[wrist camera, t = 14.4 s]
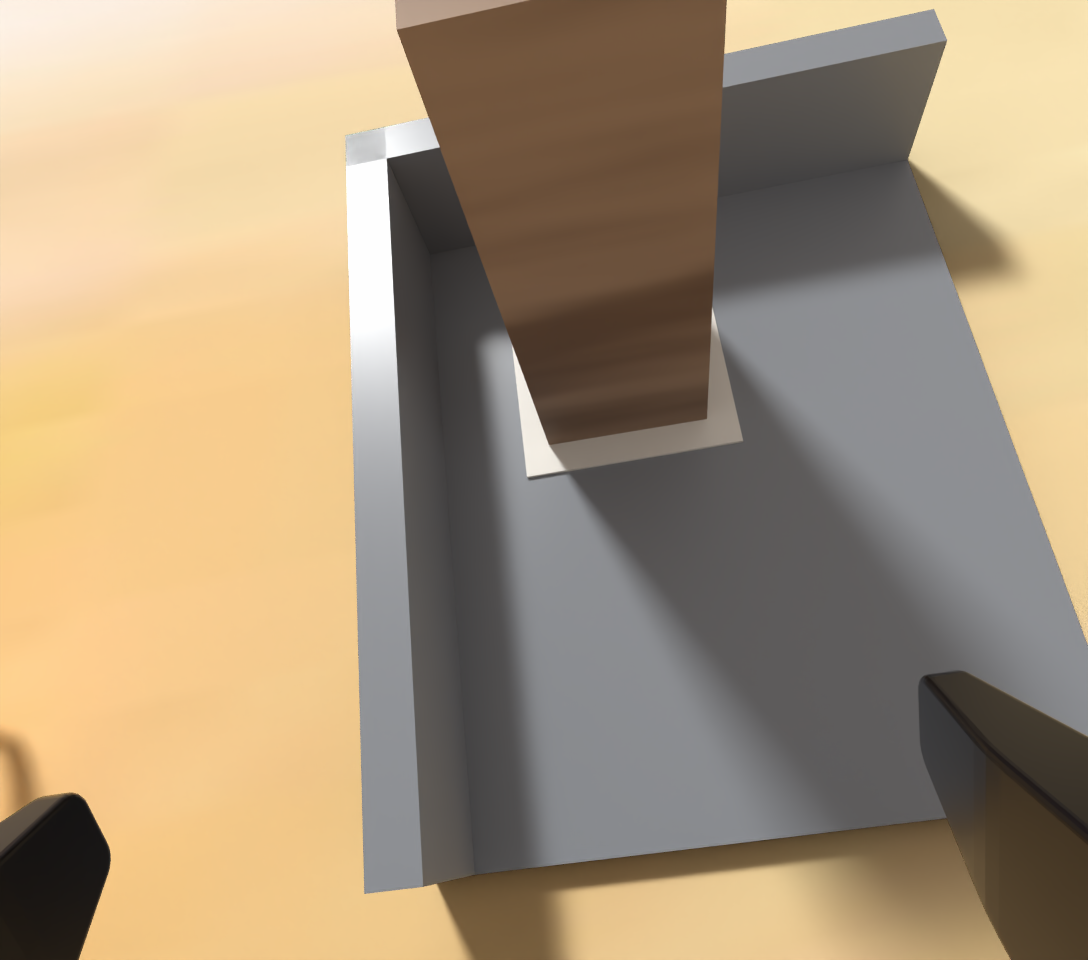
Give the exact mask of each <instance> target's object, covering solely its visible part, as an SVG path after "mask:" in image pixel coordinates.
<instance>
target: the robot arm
mask: <svg viewBox="0 0 1088 960" xmlns="http://www.w3.org/2000/svg"><path fill="white" fill-rule="evenodd" d="M918 705H919V735H920V747H921V752H922V756H923V760H924V763H925V766H926V768H927V771H928V773H929V776H930V778H931V781H932V783H933V786H934V788H935V791H936V793H937V795H938V798H939V800H940V803H941V805H942V808H943V810H944V813H945V815H946V817H947V820H948V822H949V825H950V827H951V830H952V832H953V835H954V837H955V839H956V842H957V844H958V847H959V849H960V852H961V854H962V857H963V859H964V861H965V864H966V866H967V869H968V871H969V874H970V876H971V879H972V881H973V884H974V886H975V888H976V891H977V893H978V895H979V898H980V900H981V902H982V905H983V907H984V909H985V911H986V913H987V915H988V917H989V919H990V921H991V923H992V925H993V927H994V929H995V931H996V933H997V935H998V937H999V939H1000V941H1001V943H1002V944H1003V946H1004V948H1005V950H1006V952H1007V954H1008V955H1009V957H1010V959H1011V960H1088V736H1087V735H1085V734H1083V733H1081V732H1079V731H1077V730H1075V729H1073V728H1072V727H1070V726H1068V725H1066V724H1064V723H1062V722H1060V721H1058V720H1057V719H1055V718H1053V717H1051V716H1049V715H1047V714H1045V713H1043V712H1042V711H1040V710H1038V709H1036V708H1034V707H1032V706H1030V705H1029V704H1027V703H1025V702H1023V701H1021V700H1019V699H1017V698H1015V697H1014V696H1012V695H1010V694H1008V693H1006V692H1004V691H1002V690H1000V689H999V688H997V687H995V686H993V685H991V684H989V683H987V682H985V681H984V680H982V679H980V678H978V677H976V676H974V675H972V674H970V673H968V672H966V671H962V670H954V671H947V672H940V673H933V674H926V675H924V676H923V677H922V678H921V679H920V681H919V685H918ZM110 862H111V857H110V849H109V846H108V843H107V841H106V839H105V837H104V835H103V833H102V832H101V830H100V828H99V826H98V824H97V822H96V820H95V818H94V816H93V814H92V812H91V810H90V808H89V806H88V804H87V802H86V801H85V799H84V798H83V797H81V796H80V795H79V794H76V793H64V794H57V795H49V796H44V797H40V798H37V799H35V800H34V801H32V802H30V803H29V804H27V805H26V806H24V807H23V808H21V809H20V810H18V811H17V812H15V813H14V814H12V815H11V816H9V817H8V818H6V819H5V820H3V821H2V822H0V960H79V957H80V954H81V951H82V948H83V945H84V942H85V939H86V937H87V934H88V931H89V928H90V925H91V922H92V919H93V916H94V913H95V910H96V907H97V905H98V902H99V899H100V896H101V893H102V890H103V887H104V884H105V881H106V878H107V876H108V872H109V869H110Z"/></svg>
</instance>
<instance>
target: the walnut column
mask: <svg viewBox="0 0 1088 960" xmlns="http://www.w3.org/2000/svg"><path fill="white" fill-rule="evenodd" d="M726 3H727V0H395V6H396V25H397V32H398V34H399V37H400V40H401V43H402V45H403V48H404V51H405V54H406V56H407V59H408V62H409V65H410V67H411V70H412V73H413V75H414V78H415V81H416V84H417V86H418V89H419V92H420V95H421V97H422V100H423V103H424V105H425V108H426V111H427V114H428V116H429V119H430V122H431V125H432V127H433V130H434V133H435V136H436V138H437V141H438V144H439V146H440V149H441V152H442V155H443V157H444V160H445V163H446V166H447V168H448V171H449V174H450V176H451V179H452V182H453V185H454V187H455V190H456V193H457V196H458V198H459V201H460V204H461V206H462V209H463V212H464V215H465V217H466V220H467V223H468V226H469V228H470V231H471V234H472V237H473V239H474V242H475V245H476V247H477V250H478V253H479V256H480V258H481V261H482V264H483V267H484V269H485V272H486V275H487V277H488V280H489V283H490V286H491V288H492V291H493V294H494V297H495V299H496V302H497V305H498V308H499V310H500V313H501V316H502V318H503V321H504V324H505V327H506V329H507V332H508V335H509V338H510V340H511V343H512V346H513V348H514V351H515V354H516V357H517V359H518V362H519V365H520V368H521V370H522V373H523V376H524V379H525V381H526V384H527V387H528V389H529V392H530V395H531V398H532V400H533V403H534V406H535V409H536V411H537V414H538V417H539V419H540V422H541V425H542V428H543V430H544V433H545V436H546V439H547V441H548V444H549V445H553V444H559V443H565V442H571V441H577V440H583V439H589V438H595V437H601V436H607V435H614V434H620V433H626V432H632V431H638V430H644V429H650V428H656V427H662V426H668V425H674V424H680V423H686V422H692V421H698V420H704V419H707V409H708V388H709V366H710V345H711V324H712V302H713V281H714V260H715V238H716V217H717V195H718V174H719V153H720V131H721V110H722V89H723V67H724V46H725V24H726Z"/></svg>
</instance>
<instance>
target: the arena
mask: <svg viewBox="0 0 1088 960" xmlns="http://www.w3.org/2000/svg"><path fill="white" fill-rule="evenodd" d="M946 42H947V39H946V37H945V34H944V32H943V30H942V27H941V25H940V23H939V20H938V18H937V16H936V13H935V11H934V9H932V10H928V11H923V12H918V13H914V14H909V15H904V16H900V17H895V18H890V19H886V20H881V21H877V22H872V23H867V24H863V25H858V26H853V27H849V28H844V29H839V30H835V31H830V32H825V33H821V34H816V35H811V36H807V37H802V38H797V39H793V40H788V41H783V42H779V43H774V44H769V45H765V46H760V47H755V48H751V49H746V50H741V51H737V52H732V53H727V54H724V67H723V89H722V110H721V131H720V153H719V174H718V195H717V217H716V238H715V260H714V281H713V302H712V324H711V345H710V366H709V388H708V409H707V419H704V420H698V421H692V422H686V423H680V424H674V425H668V426H662V427H656V428H650V429H644V430H638V431H632V432H626V433H620V434H614V435H607V436H601V437H595V438H589V439H583V440H577V441H571V442H565V443H559V444H553V445H549V444H548V441H547V439H546V436H545V433H544V430H543V428H542V425H541V422H540V419H539V417H538V414H537V411H536V409H535V406H534V403H533V400H532V398H531V395H530V392H529V389H528V387H527V384H526V381H525V379H524V376H523V373H522V370H521V368H520V365H519V362H518V359H517V357H516V354H515V351H514V348H513V346H512V343H511V340H510V338H509V335H508V332H507V329H506V327H505V324H504V321H503V318H502V316H501V313H500V310H499V308H498V305H497V302H496V299H495V297H494V294H493V291H492V288H491V286H490V283H489V280H488V277H487V275H486V272H485V269H484V267H483V264H482V261H481V258H480V256H479V253H478V250H477V247H476V245H475V242H474V239H473V237H472V234H471V231H470V228H469V226H468V223H467V220H466V217H465V215H464V212H463V209H462V206H461V204H460V201H459V198H458V196H457V193H456V190H455V187H454V185H453V182H452V179H451V176H450V174H449V171H448V168H447V166H446V163H445V160H444V157H443V155H442V152H441V149H440V146H439V144H438V141H437V138H436V136H435V133H434V130H433V127H432V125H431V122H430V119H429V118H425V119H420V120H415V121H411V122H406V123H401V124H397V125H392V126H387V127H383V128H378V129H373V130H369V131H364V132H359V133H355V134H350V135H345V137H346V177H347V217H348V257H349V297H350V337H351V376H352V416H353V456H354V496H355V536H356V575H357V615H358V655H359V695H360V735H361V775H362V814H363V854H364V894H367V893H375V892H383V891H392V890H400V889H408V888H417V887H424V886H428V885H433V884H437V883H441V882H446V881H450V880H454V879H459V878H463V877H467V876H471V875H476V874H485V873H493V872H501V871H510V870H518V869H526V868H535V867H543V866H552V865H560V864H568V863H577V862H585V861H593V860H602V859H610V858H618V857H627V856H635V855H643V854H652V853H660V852H668V851H677V850H685V849H693V848H702V847H710V846H718V845H727V844H735V843H743V842H752V841H760V840H768V839H777V838H785V837H793V836H802V835H810V834H818V833H827V832H835V831H843V830H852V829H860V828H868V827H877V826H885V825H893V824H902V823H910V822H918V821H927V820H935V819H944V818H947V817H946V815H945V813H944V810H943V808H942V805H941V803H940V800H939V798H938V795H937V793H936V791H935V788H934V786H933V783H932V781H931V778H930V776H929V773H928V771H927V768H926V766H925V763H924V760H923V756H922V752H921V747H920V735H919V705H918V685H919V681H920V679H921V678H922V677H923V676H924V675H926V674H933V673H940V672H947V671H954V670H962V671H966V672H968V673H970V674H972V675H974V676H976V677H978V678H980V679H982V680H984V681H985V682H987V683H989V684H991V685H993V686H995V687H997V688H999V689H1000V690H1002V691H1004V692H1006V693H1008V694H1010V695H1012V696H1014V697H1015V698H1017V699H1019V700H1021V701H1023V702H1025V703H1027V704H1029V705H1030V706H1032V707H1034V708H1036V709H1038V710H1040V711H1042V712H1043V713H1045V714H1047V715H1049V716H1051V717H1053V718H1055V719H1057V720H1058V721H1060V722H1062V723H1064V724H1066V725H1068V726H1070V727H1072V728H1073V729H1075V730H1077V731H1079V732H1081V733H1083V734H1085V735H1087V736H1088V645H1087V642H1086V640H1085V637H1084V634H1083V632H1082V629H1081V626H1080V623H1079V621H1078V618H1077V615H1076V613H1075V610H1074V607H1073V605H1072V602H1071V599H1070V596H1069V594H1068V591H1067V588H1066V586H1065V583H1064V580H1063V578H1062V575H1061V572H1060V570H1059V567H1058V564H1057V561H1056V559H1055V556H1054V553H1053V551H1052V548H1051V545H1050V543H1049V540H1048V537H1047V534H1046V532H1045V529H1044V526H1043V524H1042V521H1041V518H1040V516H1039V513H1038V510H1037V507H1036V505H1035V502H1034V499H1033V497H1032V494H1031V491H1030V489H1029V486H1028V483H1027V481H1026V478H1025V475H1024V472H1023V470H1022V467H1021V464H1020V462H1019V459H1018V456H1017V454H1016V451H1015V448H1014V445H1013V443H1012V440H1011V437H1010V435H1009V432H1008V429H1007V427H1006V424H1005V421H1004V419H1003V416H1002V413H1001V410H1000V408H999V405H998V402H997V400H996V397H995V394H994V392H993V389H992V386H991V383H990V381H989V378H988V375H987V373H986V370H985V367H984V365H983V362H982V359H981V357H980V354H979V351H978V348H977V346H976V343H975V340H974V338H973V335H972V332H971V330H970V327H969V324H968V321H967V319H966V316H965V313H964V311H963V308H962V305H961V303H960V300H959V297H958V294H957V292H956V289H955V286H954V284H953V281H952V278H951V276H950V273H949V270H948V268H947V265H946V262H945V259H944V257H943V254H942V251H941V249H940V246H939V243H938V241H937V238H936V235H935V232H934V230H933V227H932V224H931V222H930V219H929V216H928V214H927V211H926V208H925V206H924V203H923V200H922V197H921V195H920V192H919V189H918V187H917V184H916V181H915V179H914V176H913V173H912V170H911V168H910V165H909V162H908V157H909V154H910V151H911V148H912V145H913V142H914V139H915V136H916V133H917V130H918V127H919V124H920V121H921V118H922V115H923V112H924V109H925V106H926V103H927V100H928V97H929V94H930V91H931V88H932V85H933V82H934V79H935V76H936V73H937V69H938V66H939V63H940V60H941V57H942V54H943V51H944V48H945V45H946Z"/></svg>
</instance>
